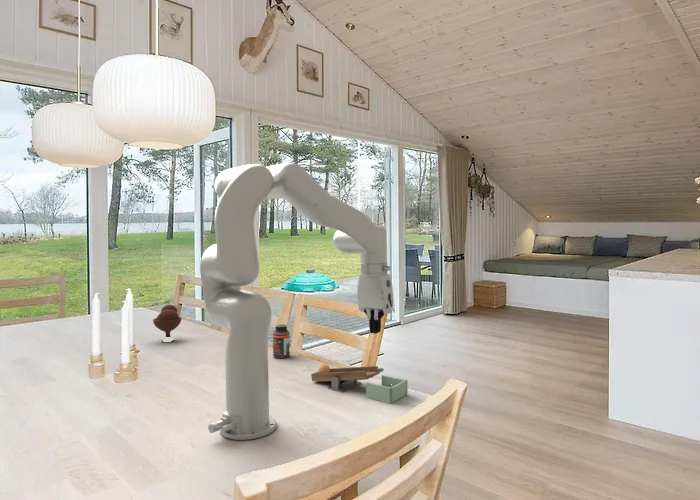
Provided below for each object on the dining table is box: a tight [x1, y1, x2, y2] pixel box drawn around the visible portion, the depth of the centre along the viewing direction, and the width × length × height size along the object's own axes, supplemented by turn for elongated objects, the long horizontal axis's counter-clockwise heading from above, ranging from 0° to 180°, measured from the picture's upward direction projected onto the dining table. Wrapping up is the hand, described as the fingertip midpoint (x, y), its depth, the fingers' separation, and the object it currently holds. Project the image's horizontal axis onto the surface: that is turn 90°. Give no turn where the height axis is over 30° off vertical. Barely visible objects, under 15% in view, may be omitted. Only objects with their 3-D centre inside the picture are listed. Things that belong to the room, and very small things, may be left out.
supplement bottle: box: [272, 323, 291, 359], centre depth 169 cm, size 6×6×11 cm
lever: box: [310, 365, 385, 382], centre depth 138 cm, size 10×20×2 cm, turn 53°
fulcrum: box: [327, 376, 362, 393], centre depth 136 cm, size 9×5×4 cm, turn 143°
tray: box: [365, 375, 408, 404], centre depth 128 cm, size 8×8×4 cm
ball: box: [317, 363, 331, 373], centre depth 141 cm, size 4×4×4 cm
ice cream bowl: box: [152, 304, 182, 337], centre depth 194 cm, size 11×11×15 cm
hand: (375, 332), depth 136 cm, fingers closed
